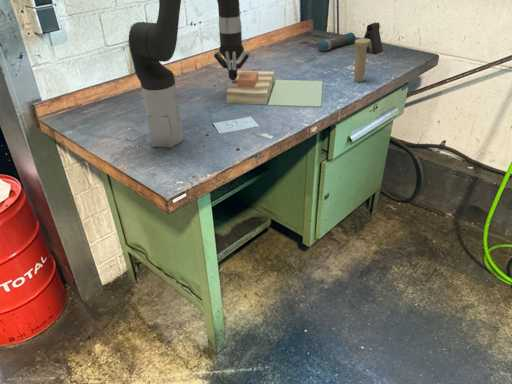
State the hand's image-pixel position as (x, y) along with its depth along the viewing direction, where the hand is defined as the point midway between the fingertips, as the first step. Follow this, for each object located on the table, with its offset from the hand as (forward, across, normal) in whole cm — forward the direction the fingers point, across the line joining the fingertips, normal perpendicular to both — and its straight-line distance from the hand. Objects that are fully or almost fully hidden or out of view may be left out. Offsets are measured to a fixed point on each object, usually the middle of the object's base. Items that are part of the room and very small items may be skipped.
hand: (233, 79), depth 155 cm
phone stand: (+5, +53, +53) cm, 75 cm away
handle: (+5, +46, +14) cm, 48 cm away
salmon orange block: (+1, +5, 0) cm, 5 cm away
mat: (+5, +23, +1) cm, 23 cm away
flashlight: (+6, +38, +59) cm, 70 cm away
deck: (+5, +6, +1) cm, 8 cm away
